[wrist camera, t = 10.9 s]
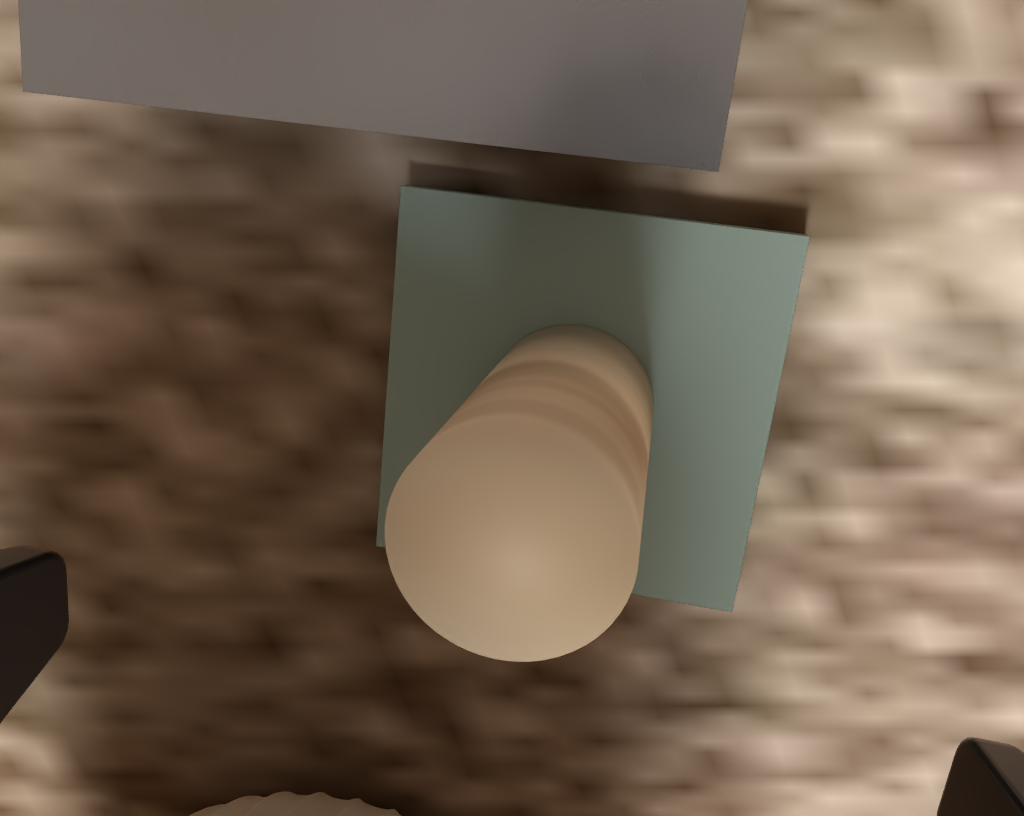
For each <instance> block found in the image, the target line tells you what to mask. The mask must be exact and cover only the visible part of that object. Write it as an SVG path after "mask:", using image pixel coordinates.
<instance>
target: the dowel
mask: <svg viewBox="0 0 1024 816" xmlns="http://www.w3.org/2000/svg"><path fill="white" fill-rule="evenodd" d="M653 412H654V397H653V391H652V386H651V383H650V380H649V377H648V374H647V372H646V370H645V368H644V366H643V365H642V363H641V362H640V360H639V359H638V357H637V356H636V355H635V354H634V353H633V351H632V350H631V349H630V348H629V347H628V346H626V345H625V344H624V343H623V342H622V341H620V340H619V339H617V338H616V337H615V336H613V335H611V334H609V333H607V332H605V331H603V330H600V329H597V328H595V327H591V326H586V325H581V324H559V325H553V326H549V327H545V328H542V329H539V330H537V331H535V332H533V333H531V334H529V335H528V336H526V337H525V338H523V339H521V340H520V341H519V342H518V343H517V344H516V345H514V346H513V347H512V348H511V350H510V351H509V352H508V353H507V354H506V355H505V356H504V358H503V359H502V360H501V361H500V362H499V363H498V364H497V365H496V367H495V368H494V369H493V370H492V371H491V372H490V373H489V375H488V376H487V377H486V378H485V379H484V380H483V381H482V382H481V384H480V385H479V386H478V387H477V388H476V389H475V390H474V392H473V393H472V394H471V395H470V396H469V397H468V398H467V399H466V401H465V402H464V403H463V404H462V405H461V406H460V407H459V409H458V410H457V411H456V412H455V413H454V414H453V415H452V416H451V418H450V419H449V420H448V421H447V422H446V423H445V424H444V426H443V427H442V428H441V429H440V430H439V431H438V432H437V433H436V435H435V436H434V437H433V438H432V439H431V440H430V441H429V443H428V444H427V445H426V446H425V447H424V448H423V449H422V450H421V452H420V453H419V454H418V455H417V456H416V457H415V458H414V460H413V461H412V462H411V463H410V464H409V465H408V466H407V468H406V469H405V470H404V472H403V473H402V475H401V477H400V478H399V480H398V481H397V483H396V486H395V488H394V490H393V492H392V494H391V497H390V501H389V504H388V508H387V513H386V520H385V545H386V553H387V558H388V561H389V565H390V569H391V572H392V574H393V576H394V579H395V581H396V584H397V586H398V587H399V589H400V591H401V593H402V594H403V596H404V598H405V599H406V601H407V602H408V603H409V605H410V606H411V608H412V609H413V610H414V611H415V612H416V614H417V615H418V616H419V617H420V618H421V619H422V620H423V621H424V622H425V623H426V624H427V625H428V626H430V627H431V628H432V629H433V630H434V631H435V632H437V633H438V634H440V635H441V636H442V637H444V638H445V639H447V640H448V641H450V642H452V643H454V644H456V645H457V646H459V647H461V648H463V649H465V650H468V651H470V652H473V653H476V654H478V655H481V656H485V657H489V658H493V659H498V660H505V661H515V662H531V661H541V660H547V659H551V658H556V657H560V656H562V655H565V654H568V653H571V652H573V651H575V650H577V649H579V648H581V647H583V646H585V645H587V644H588V643H590V642H591V641H593V640H594V639H596V638H597V637H598V636H600V635H601V634H602V633H603V632H604V631H605V630H606V629H607V628H608V627H609V626H611V624H612V623H613V622H614V621H615V619H616V618H617V617H618V616H619V614H620V613H621V611H622V610H623V608H624V606H625V605H626V603H627V601H628V599H629V597H630V594H631V592H632V590H633V587H634V584H635V580H636V576H637V572H638V563H639V553H640V543H641V533H642V522H643V512H644V502H645V492H646V482H647V472H648V462H649V452H650V442H651V432H652V422H653Z"/></svg>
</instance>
